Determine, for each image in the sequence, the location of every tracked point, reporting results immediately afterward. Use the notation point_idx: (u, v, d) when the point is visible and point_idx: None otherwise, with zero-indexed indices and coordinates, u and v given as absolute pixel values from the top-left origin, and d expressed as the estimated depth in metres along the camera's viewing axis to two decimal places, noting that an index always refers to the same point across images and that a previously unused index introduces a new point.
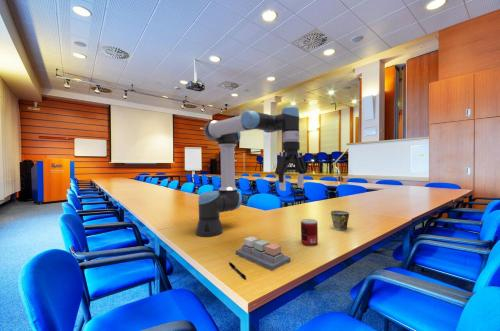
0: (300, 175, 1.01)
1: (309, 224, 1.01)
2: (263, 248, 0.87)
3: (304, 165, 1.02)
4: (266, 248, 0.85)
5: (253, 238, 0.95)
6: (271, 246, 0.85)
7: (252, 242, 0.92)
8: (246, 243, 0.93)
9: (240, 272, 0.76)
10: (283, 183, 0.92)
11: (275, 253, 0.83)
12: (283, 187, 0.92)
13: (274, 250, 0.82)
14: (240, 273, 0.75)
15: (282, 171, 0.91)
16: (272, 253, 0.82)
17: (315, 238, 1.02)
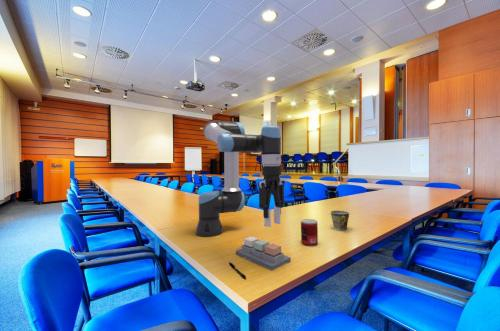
0: (276, 209, 0.87)
1: (309, 224, 1.01)
2: (263, 248, 0.87)
3: (283, 196, 0.88)
4: (266, 248, 0.85)
5: (253, 238, 0.95)
6: (271, 246, 0.85)
7: (252, 242, 0.92)
8: (246, 243, 0.93)
9: (240, 272, 0.76)
10: (268, 219, 0.82)
11: (275, 253, 0.83)
12: (268, 223, 0.82)
13: (274, 250, 0.82)
14: (240, 273, 0.75)
15: (266, 206, 0.82)
16: (272, 253, 0.82)
17: (315, 238, 1.02)
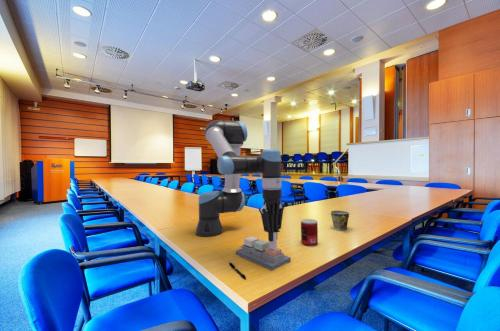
0: None
1: (309, 224, 1.01)
2: (263, 248, 0.87)
3: (281, 220, 0.87)
4: (266, 251, 0.85)
5: (253, 238, 0.95)
6: (271, 249, 0.85)
7: (252, 242, 0.92)
8: (246, 243, 0.93)
9: (240, 272, 0.76)
10: (273, 242, 0.84)
11: None
12: (273, 246, 0.84)
13: (274, 253, 0.82)
14: (240, 273, 0.75)
15: (271, 230, 0.83)
16: (272, 256, 0.82)
17: (315, 238, 1.02)
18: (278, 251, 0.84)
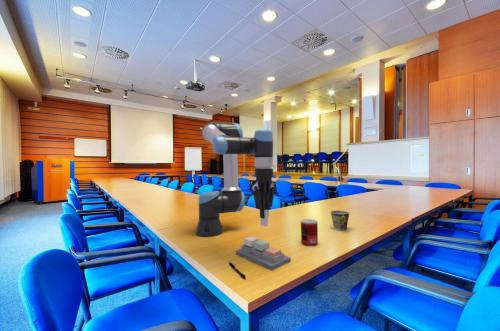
0: None
1: (309, 224, 1.01)
2: (263, 248, 0.87)
3: (272, 199, 0.91)
4: (266, 252, 0.85)
5: (253, 238, 0.95)
6: (271, 250, 0.85)
7: (252, 242, 0.92)
8: (246, 243, 0.93)
9: (240, 272, 0.76)
10: (264, 219, 0.88)
11: None
12: (264, 223, 0.88)
13: (274, 254, 0.82)
14: (240, 273, 0.75)
15: (262, 207, 0.87)
16: None
17: (315, 238, 1.02)
18: (278, 252, 0.84)
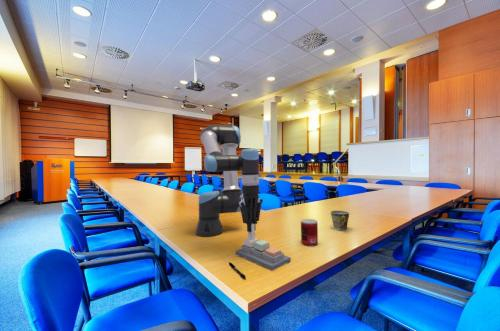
0: None
1: (309, 224, 1.01)
2: (263, 248, 0.87)
3: (259, 213, 0.96)
4: (266, 252, 0.85)
5: None
6: (271, 250, 0.85)
7: (252, 243, 0.92)
8: (246, 244, 0.93)
9: (240, 272, 0.76)
10: (251, 232, 0.93)
11: None
12: (251, 236, 0.93)
13: (274, 254, 0.82)
14: (240, 273, 0.75)
15: (249, 222, 0.92)
16: None
17: (315, 238, 1.02)
18: (278, 252, 0.84)
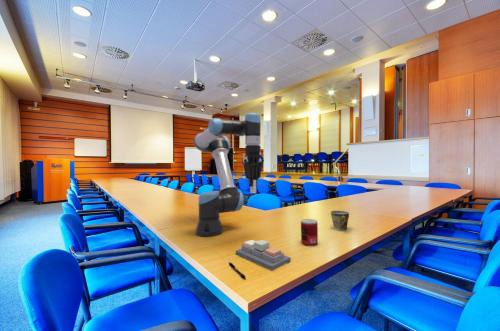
0: None
1: (309, 224, 1.01)
2: (263, 248, 0.87)
3: (260, 171, 1.09)
4: (266, 252, 0.85)
5: (253, 241, 0.95)
6: (271, 250, 0.85)
7: (252, 246, 0.91)
8: None
9: (240, 272, 0.76)
10: (253, 187, 1.06)
11: None
12: (253, 190, 1.06)
13: (274, 254, 0.82)
14: (240, 273, 0.75)
15: (251, 177, 1.05)
16: None
17: (315, 238, 1.02)
18: (278, 252, 0.84)
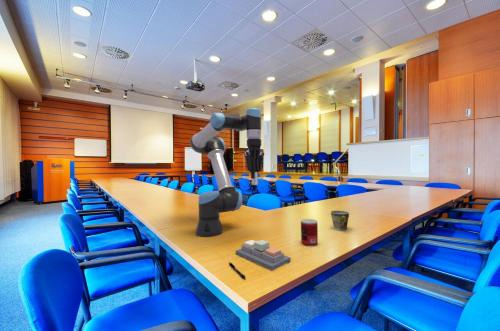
0: None
1: (309, 224, 1.01)
2: (263, 248, 0.87)
3: (261, 164, 1.13)
4: (266, 252, 0.85)
5: (253, 241, 0.95)
6: (271, 250, 0.85)
7: (252, 246, 0.91)
8: None
9: (240, 272, 0.76)
10: (254, 179, 1.10)
11: None
12: (254, 182, 1.10)
13: (274, 254, 0.82)
14: (240, 273, 0.75)
15: (253, 169, 1.09)
16: None
17: (315, 238, 1.02)
18: (278, 252, 0.84)
